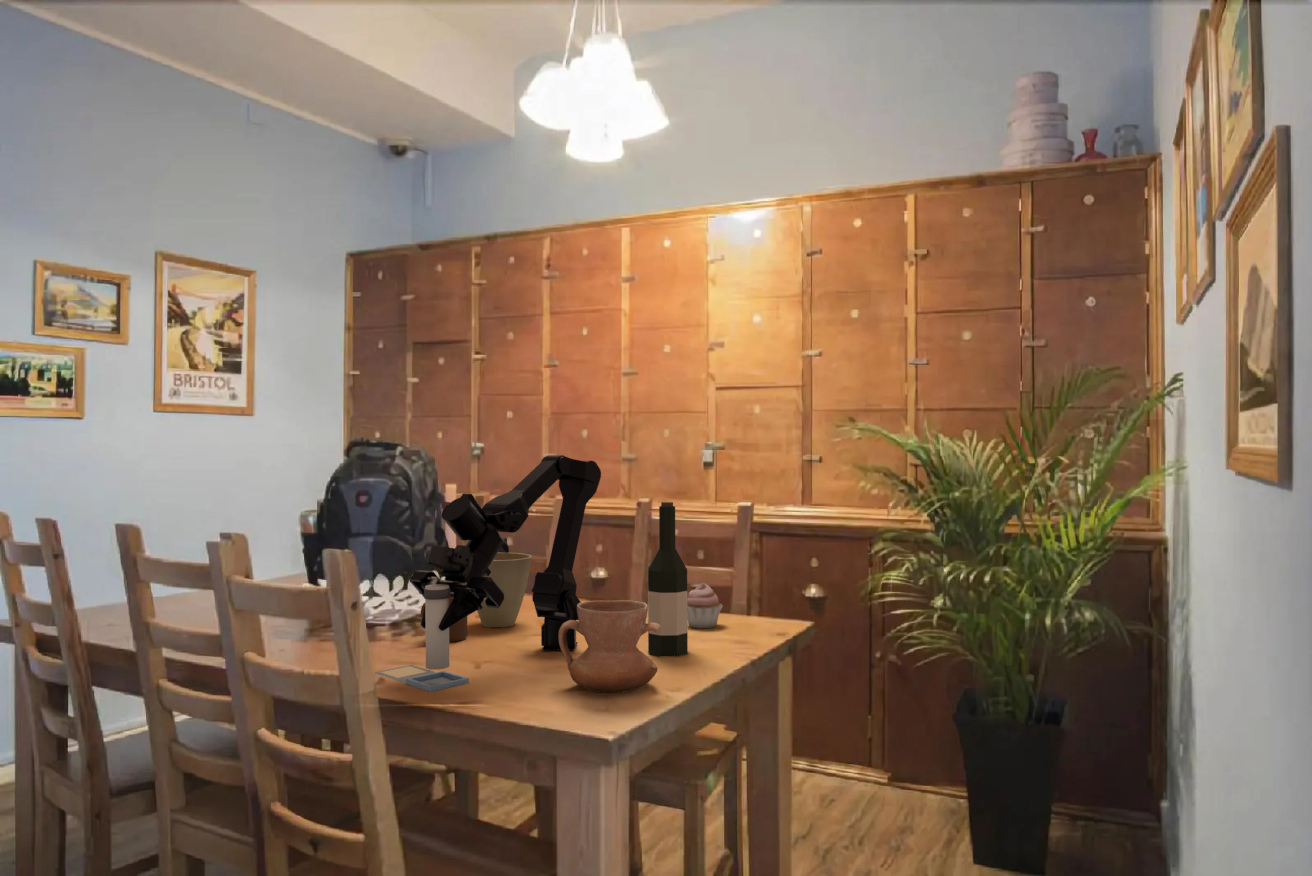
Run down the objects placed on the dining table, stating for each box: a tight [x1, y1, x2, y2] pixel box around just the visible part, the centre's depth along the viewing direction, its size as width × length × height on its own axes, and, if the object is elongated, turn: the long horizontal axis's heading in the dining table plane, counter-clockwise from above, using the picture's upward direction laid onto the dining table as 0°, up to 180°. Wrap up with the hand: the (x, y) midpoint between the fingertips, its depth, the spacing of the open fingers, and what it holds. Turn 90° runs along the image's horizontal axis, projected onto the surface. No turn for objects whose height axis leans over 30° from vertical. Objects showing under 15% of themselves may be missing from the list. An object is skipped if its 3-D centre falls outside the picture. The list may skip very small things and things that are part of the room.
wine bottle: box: [647, 501, 689, 657], centre depth 181 cm, size 8×8×30 cm
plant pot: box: [476, 552, 533, 628], centre depth 209 cm, size 15×15×16 cm
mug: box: [420, 593, 468, 643], centre depth 192 cm, size 12×8×9 cm, turn 151°
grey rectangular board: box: [374, 664, 470, 693], centre depth 160 cm, size 19×8×1 cm, turn 46°
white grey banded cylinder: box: [423, 584, 450, 671], centre depth 157 cm, size 4×4×14 cm
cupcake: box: [687, 582, 723, 629], centre depth 206 cm, size 9×9×10 cm
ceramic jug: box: [558, 599, 661, 694], centre depth 155 cm, size 18×14×14 cm
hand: (431, 628), depth 155 cm, fingers closed on white grey banded cylinder, 4 cm apart
